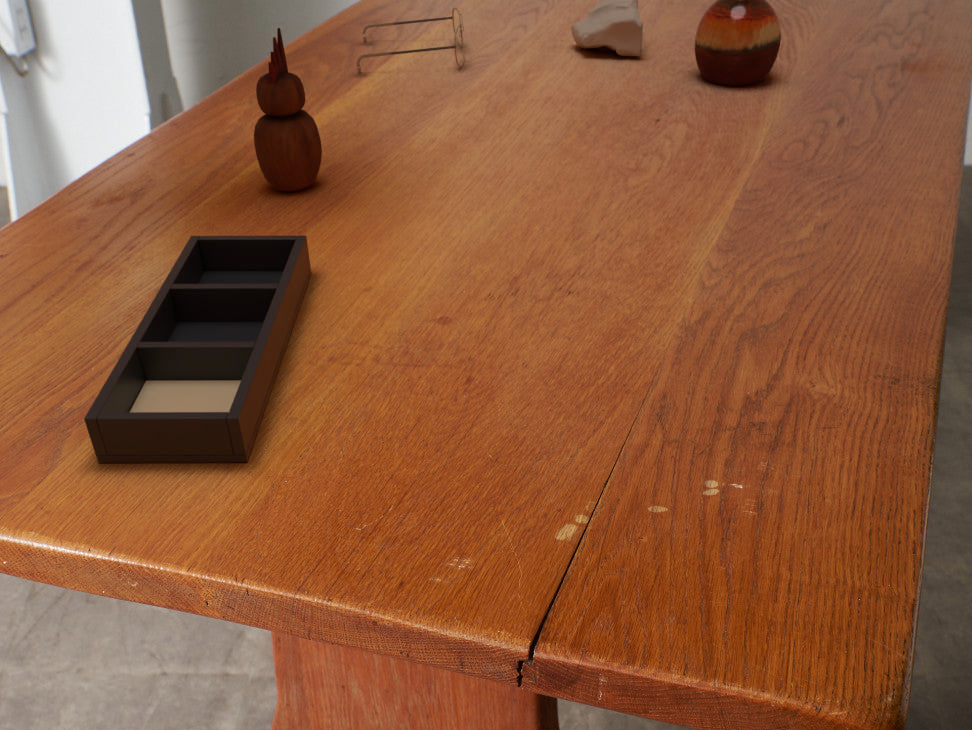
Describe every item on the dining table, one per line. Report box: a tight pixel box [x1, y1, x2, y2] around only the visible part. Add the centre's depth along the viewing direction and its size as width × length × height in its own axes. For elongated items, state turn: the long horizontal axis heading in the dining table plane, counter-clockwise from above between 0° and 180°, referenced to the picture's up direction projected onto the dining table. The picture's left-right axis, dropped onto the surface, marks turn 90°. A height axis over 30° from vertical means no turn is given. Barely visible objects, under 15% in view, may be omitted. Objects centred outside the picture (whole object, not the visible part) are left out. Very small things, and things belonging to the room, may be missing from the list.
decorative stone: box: [571, 0, 644, 57], centre depth 144 cm, size 11×9×10 cm
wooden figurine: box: [253, 27, 323, 193], centre depth 102 cm, size 7×6×15 cm
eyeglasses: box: [356, 7, 465, 74], centre depth 143 cm, size 16×15×5 cm
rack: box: [83, 234, 312, 464], centre depth 78 cm, size 10×29×4 cm, turn 0°
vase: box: [694, 0, 782, 87], centre depth 131 cm, size 11×11×15 cm
